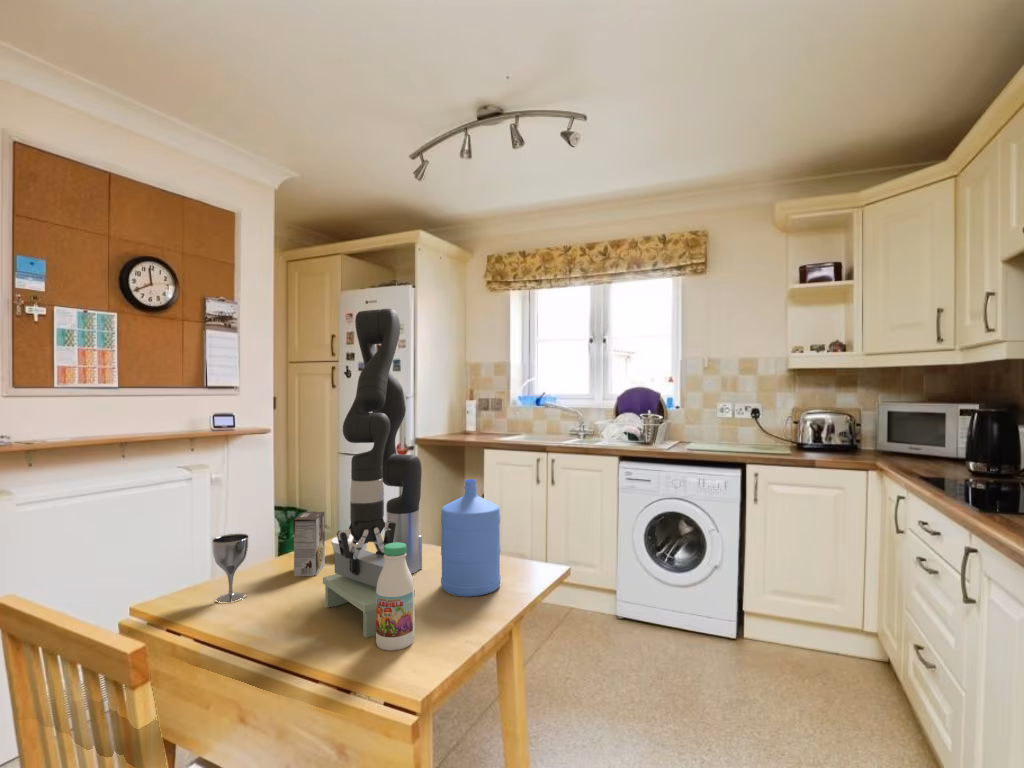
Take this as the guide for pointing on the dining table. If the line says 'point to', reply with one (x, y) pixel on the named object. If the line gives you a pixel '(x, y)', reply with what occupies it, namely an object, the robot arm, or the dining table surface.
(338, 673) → the dining table surface
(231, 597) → the wine glass
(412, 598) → the milk bottle
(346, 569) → the grey rectangular brick
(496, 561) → the water jug
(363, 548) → the ramekin
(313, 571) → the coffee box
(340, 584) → the sage shelf
